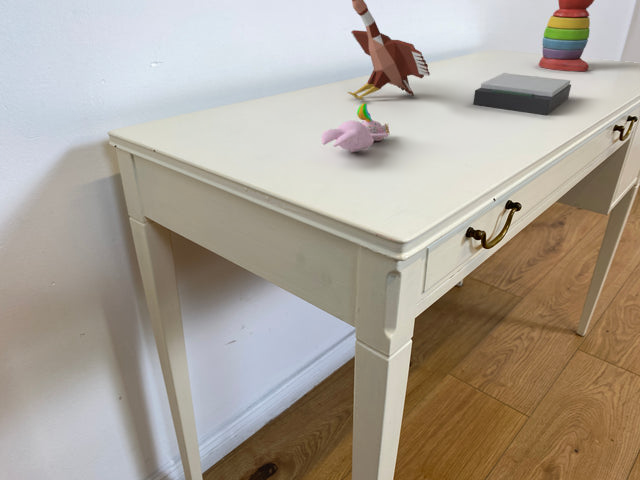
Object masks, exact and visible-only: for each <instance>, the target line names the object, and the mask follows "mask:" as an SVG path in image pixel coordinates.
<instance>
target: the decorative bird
mask: <svg viewBox="0 0 640 480" xmlns="http://www.w3.org/2000/svg"><path fill="white" fill-rule="evenodd" d="M351 3H352V8H353V10H354V11H355V12H356V14H357V15H359V16H360V18H361V20H362V22H363V24H364V27H365V30H366V31H365V30H357V29H356V30H355V29H353V30H351V31H350V33H351V35H352V37H353V38H354V39H355V41H356V42H357V43H358V45H359V46H360V48H361V49H362V51H363V52H364V54H365V55H368V56H369V57H370V60H371V63H372V67H373V70H372V72H371V74H370V76H369V78H368V80H367V82H366V83H365V84H364V85H363V86H361V87H360V88H358V90H356V91H355V92H351V91H347V94H349V95H350V96H353V97H354V98H356V99H358V100H362V101H366V100H365V99H364V97H366V96H368V95H370V94H373V93H376V92H377V91H380V90H381V89H382V88H383V87H384V86H386V85H387V84H390V85H393V86H395V87H397V88H399V89H400V90H401V91H405V93H408V94H409V95H412V97H414V96H415V93H414V91H413V90H412V88H411V87H410V83H409V78H408V77H409V76H414V77H416V78H418V79H422V80H423V78H424V77H425V76H428V77H429V76H430V74H431V73H430V71H429V65H428V63H427V61H426V60H425V59H424V56H423V54H422V51H419V49H416V47H415V45H414V44H413V43H410V42H408V41H407V42H406V41H403V40H400V39H392V38H391V37H389V35H387V34H384V33H382V32H381V31H380V30H379V27H378V25H377V22H376V20H375V18H374V17H373V15H372V13H371V11H370V10H369V8H368V5H367V3H366V1H365V0H351ZM362 92H363V93H362ZM360 93H362V94H361V95H358V94H360Z"/></svg>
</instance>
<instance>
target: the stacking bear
mask: <svg viewBox="0 0 640 480" xmlns="http://www.w3.org/2000/svg"><path fill="white" fill-rule="evenodd" d="M557 1H558V9H556V10H555V11H554V12H553V13H552V15H551V16H550V17H549V19H548V21H547V25H546V27H545V29H544V32H543V37H542V45H541V46H542V57H541V58H540V60H539V62H538V66H539V67H540V68H543V69H549V70H557V71H564V72H565V71H568V72H586V71H588V70H589V64H588V63H587V62H586V61H585V60H583V58H581V57H582V55H583V53H584V50H585V48H586V47H587V44H588V42H589V38H590V29H591V28H590V24H591V22H590V13H589V11H588V8H590V7H591V5H593V3H594V1H595V0H557Z"/></svg>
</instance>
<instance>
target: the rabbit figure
mask: <svg viewBox="0 0 640 480" xmlns="http://www.w3.org/2000/svg"><path fill="white" fill-rule="evenodd" d="M356 115H357V118H359V120H361V122H360V121H358V120H347V121H345V122H343V123H341V124H340V125H339V126H338V127H337V128H331V129H327V130H325V131H323V132H322V134H321V144H322V145H323V146H325V145H327V144H329V143H331V142H333V141H334V140H335V141H334V143H333V147H335V148H336V147H338V146H339V147H340V148H342V149H344V150H347V151H350V153H355V152H356V153H359V152H360V151H361V150H366V149H368V148H370V147H371V146H372V145H373V144H374V142H381V141H382V140H384V138H388V137H389V135H391V133H390V129H389V128H390V127H389V124H390V123H389V122H387V123H384V124H381V123H380V122H379V121H376V120H373V118H372V116H371V113H370V112H369V111H368V103H367V102H363V103H361V104H360V105H359V106H358V108H357V112H356Z"/></svg>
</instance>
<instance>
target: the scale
mask: <svg viewBox="0 0 640 480" xmlns="http://www.w3.org/2000/svg"><path fill="white" fill-rule="evenodd" d="M571 88H572V84H571V79H563V78H562V79H561V78H553V77H544V76H536V75H525V74H516V73H508V72H504V73H501V74H499V75H497V76H495V77H492V78H490V79H488V80H486V81H483V82H482V83H481V84H480V87H479V88H477V89H475V90H474V94H473V102H472V105H473V106H480V107H486V108H494V109H502V110H506V111H507V110H509V111H515V112H522V113H529V114H534V115H535V114H536V115H543V116H548V115H549V114H551V112H553V111H554V110H556V109H557V108H558V107H559V106H560V105H562V104H564V103H565V102H566V101H567V100H568V99H569V97H570V94H571V93H570V92H571Z"/></svg>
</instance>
